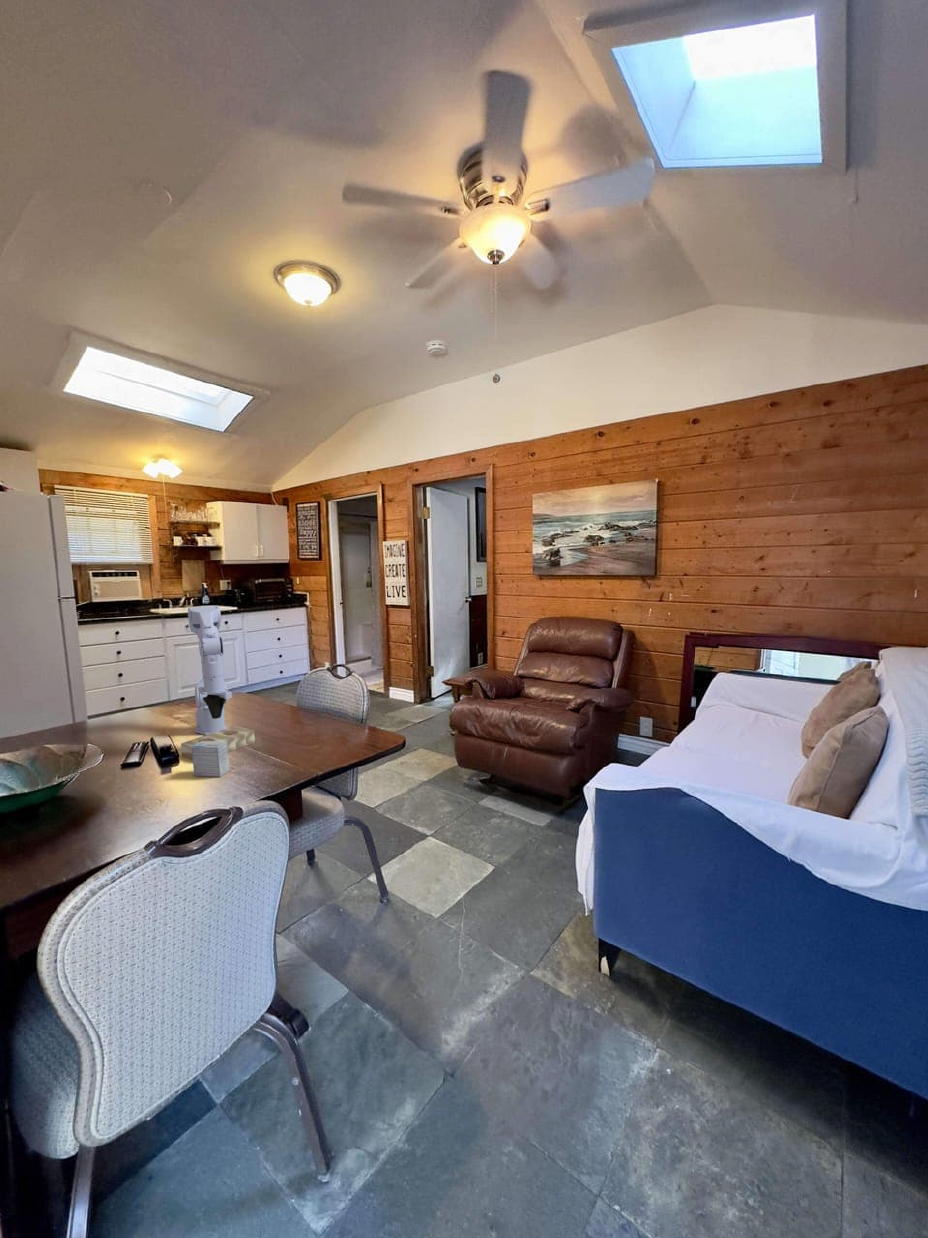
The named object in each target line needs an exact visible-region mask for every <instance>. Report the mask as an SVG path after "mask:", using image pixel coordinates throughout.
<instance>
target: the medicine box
mask: <svg viewBox="0 0 928 1238" xmlns="http://www.w3.org/2000/svg"><path fill="white" fill-rule="evenodd" d="M192 757H193V760H192V765H193V766H192V768H193V777H217V778H221V777H223V776H224V775H225V774H226V773H227V772H229V771H230V760H229V752H228V747H227V742H222V741H201V742H199V743H197V744H195V745H194V746H192Z"/></svg>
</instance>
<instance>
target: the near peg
mask: <svg viewBox="0 0 928 1238" xmlns="http://www.w3.org/2000/svg"><path fill="white" fill-rule="evenodd" d="M201 741H214V739H211V738H206V739H203V740H200V741H199V742H201Z"/></svg>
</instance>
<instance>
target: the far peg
mask: <svg viewBox="0 0 928 1238" xmlns="http://www.w3.org/2000/svg"><path fill="white" fill-rule="evenodd" d="M235 733H238V731H234V730H230V731H227V732H224V733H223V734H225V735H232V734H235Z"/></svg>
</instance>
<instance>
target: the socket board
mask: <svg viewBox="0 0 928 1238" xmlns="http://www.w3.org/2000/svg"><path fill="white" fill-rule="evenodd" d="M230 730H234V731H238V733H235V734H232V735H225V734H223V733H224V732H227V731H230ZM206 738H211V739H214V741H222V742H227V747H228V753H230V752H233V751H235V750H238V749H241V748H243V747H246V746H249V745H252V744H254V743H255V742H256V738H255V730H254V729H249V728H245V727H241V726H237V725H233V726H231V727H229V728H227V729H223V730H220V731H217V732H214V733H211V734H208V735H202V736H199V737H197V738H192V739H190V740H187V741H184V742H181V743H180V748H181V756H182V757H183V758H187V759H189V760H192V761H193V757H192V746H194V745H195V744H197V743H199V741H200V740H203V739H206Z"/></svg>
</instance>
